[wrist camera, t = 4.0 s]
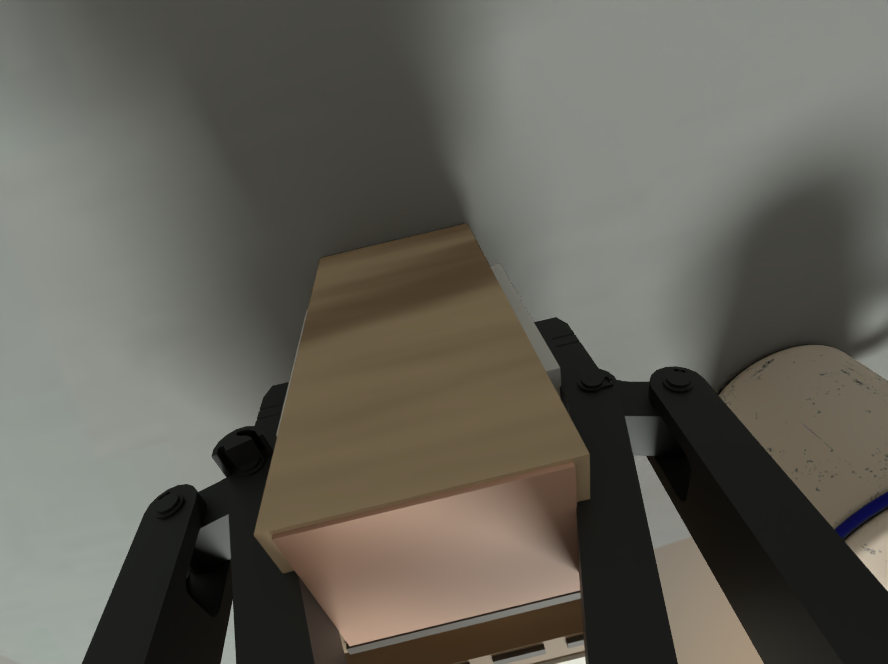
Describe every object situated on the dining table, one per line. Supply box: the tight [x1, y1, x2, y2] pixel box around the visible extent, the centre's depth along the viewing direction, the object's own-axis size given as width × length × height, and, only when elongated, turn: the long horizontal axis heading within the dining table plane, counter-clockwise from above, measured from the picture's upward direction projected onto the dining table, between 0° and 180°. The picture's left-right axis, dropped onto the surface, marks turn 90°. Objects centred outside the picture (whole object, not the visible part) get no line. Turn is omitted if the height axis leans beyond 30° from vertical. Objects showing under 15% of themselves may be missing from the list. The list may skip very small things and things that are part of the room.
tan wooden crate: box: [344, 599, 586, 664], centre depth 20 cm, size 12×12×13 cm
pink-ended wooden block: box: [254, 223, 590, 655], centre depth 14 cm, size 5×6×12 cm
